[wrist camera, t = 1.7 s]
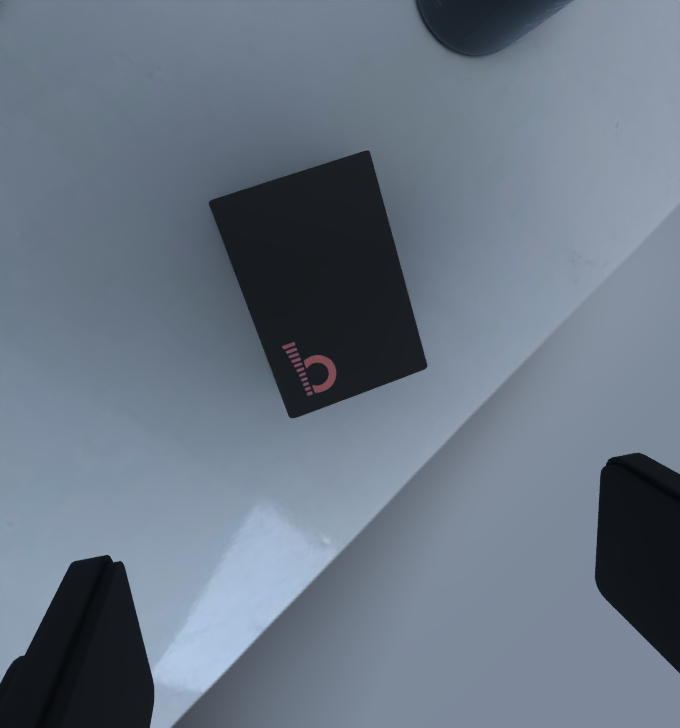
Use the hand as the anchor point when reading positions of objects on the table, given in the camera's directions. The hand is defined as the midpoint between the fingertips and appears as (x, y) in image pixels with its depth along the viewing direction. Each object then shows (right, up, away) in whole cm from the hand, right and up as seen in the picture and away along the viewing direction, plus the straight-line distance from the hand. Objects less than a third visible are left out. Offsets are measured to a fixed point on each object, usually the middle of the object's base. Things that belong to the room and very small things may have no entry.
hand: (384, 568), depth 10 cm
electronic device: (-2, +9, +19) cm, 21 cm away
